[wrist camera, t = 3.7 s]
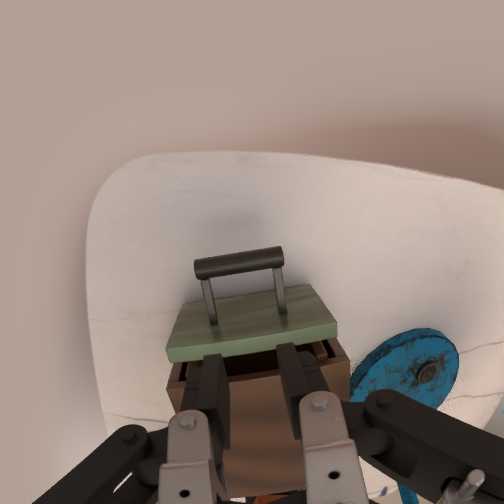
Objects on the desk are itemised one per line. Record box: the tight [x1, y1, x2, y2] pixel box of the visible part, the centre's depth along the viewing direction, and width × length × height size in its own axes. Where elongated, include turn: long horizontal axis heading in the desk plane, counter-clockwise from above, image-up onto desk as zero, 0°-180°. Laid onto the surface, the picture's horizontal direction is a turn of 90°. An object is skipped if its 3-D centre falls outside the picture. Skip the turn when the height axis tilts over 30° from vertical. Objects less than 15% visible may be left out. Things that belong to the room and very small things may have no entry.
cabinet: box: [166, 337, 350, 498], centre depth 25 cm, size 16×13×10 cm
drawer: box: [166, 246, 337, 379], centre depth 24 cm, size 19×11×8 cm, turn 8°
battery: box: [245, 491, 291, 504], centre depth 29 cm, size 4×7×10 cm, turn 166°
